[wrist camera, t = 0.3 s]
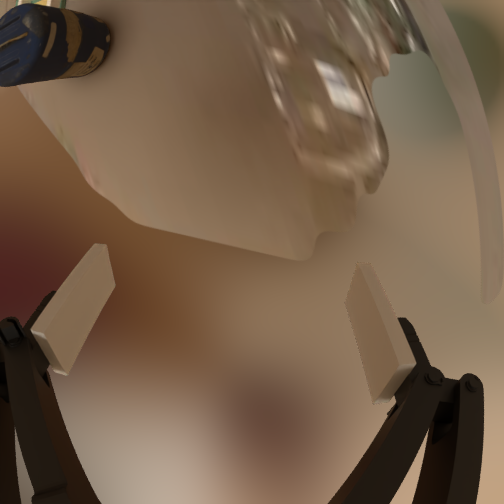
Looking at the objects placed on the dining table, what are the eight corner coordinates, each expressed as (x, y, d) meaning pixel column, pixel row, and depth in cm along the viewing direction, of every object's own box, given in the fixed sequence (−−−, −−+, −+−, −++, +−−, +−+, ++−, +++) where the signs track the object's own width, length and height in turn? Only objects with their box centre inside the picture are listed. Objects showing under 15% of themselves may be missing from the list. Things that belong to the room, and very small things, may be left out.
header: (28, -1, 22) (19, -3, 20) (63, -16, 22) (54, -19, 20) (23, 38, 26) (13, 38, 24) (57, 25, 26) (47, 24, 24)
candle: (68, 20, 27) (-17, 11, 11) (121, 15, 28) (42, -9, 12) (56, 77, 32) (-31, 93, 16) (107, 77, 33) (22, 87, 17)
